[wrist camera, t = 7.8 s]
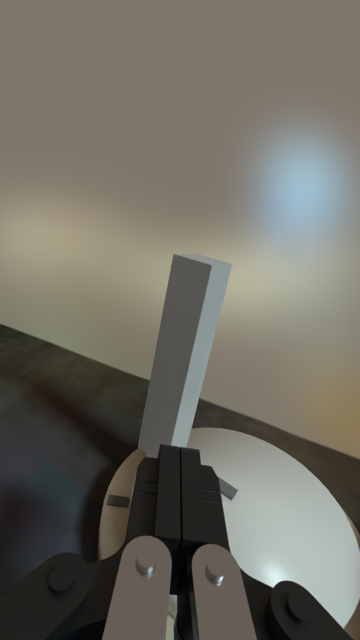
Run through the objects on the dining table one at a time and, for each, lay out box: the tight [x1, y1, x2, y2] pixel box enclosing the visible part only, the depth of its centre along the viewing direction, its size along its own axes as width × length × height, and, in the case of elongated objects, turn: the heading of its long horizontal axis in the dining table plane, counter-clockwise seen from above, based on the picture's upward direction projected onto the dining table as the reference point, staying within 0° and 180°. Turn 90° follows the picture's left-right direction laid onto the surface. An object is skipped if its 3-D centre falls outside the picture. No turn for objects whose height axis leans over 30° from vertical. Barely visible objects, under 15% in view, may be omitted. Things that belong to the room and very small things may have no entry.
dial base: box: [97, 448, 360, 640], centre depth 19 cm, size 16×16×2 cm
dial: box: [129, 254, 360, 629], centre depth 17 cm, size 14×13×14 cm
